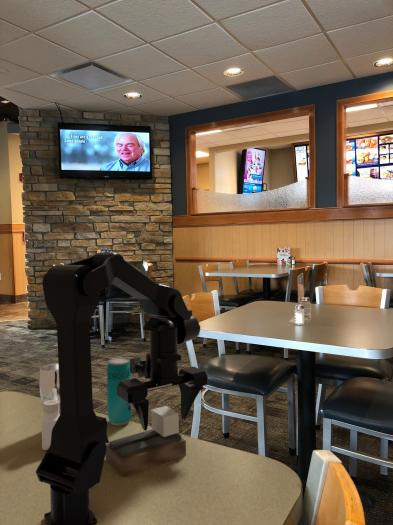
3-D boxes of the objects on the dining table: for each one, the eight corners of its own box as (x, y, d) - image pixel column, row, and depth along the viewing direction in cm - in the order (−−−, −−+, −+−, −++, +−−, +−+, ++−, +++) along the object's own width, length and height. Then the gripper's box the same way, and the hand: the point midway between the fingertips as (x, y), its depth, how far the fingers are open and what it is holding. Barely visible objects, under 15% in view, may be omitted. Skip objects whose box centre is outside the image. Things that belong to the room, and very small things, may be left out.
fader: (166, 428, 92) (165, 405, 92) (178, 437, 88) (178, 413, 88) (151, 433, 90) (151, 409, 90) (163, 442, 86) (163, 417, 86)
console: (165, 440, 94) (165, 423, 94) (186, 455, 88) (185, 436, 87) (105, 459, 86) (105, 440, 86) (122, 476, 80) (122, 456, 79)
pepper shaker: (42, 443, 93) (41, 400, 93) (62, 440, 95) (61, 397, 94) (42, 451, 90) (40, 406, 89) (62, 448, 91) (61, 404, 90)
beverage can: (127, 427, 101) (126, 364, 100) (104, 426, 102) (102, 363, 101) (135, 417, 107) (134, 357, 106) (113, 416, 108) (112, 357, 107)
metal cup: (34, 433, 98) (32, 368, 98) (56, 422, 104) (55, 361, 104) (56, 440, 95) (54, 372, 94) (78, 428, 101) (77, 364, 100)
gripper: (181, 336, 100) (181, 402, 101) (105, 348, 90) (106, 422, 91) (209, 345, 91) (209, 418, 92) (128, 359, 81) (130, 441, 81)
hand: (164, 424), depth 89 cm, fingers open, 9 cm apart
